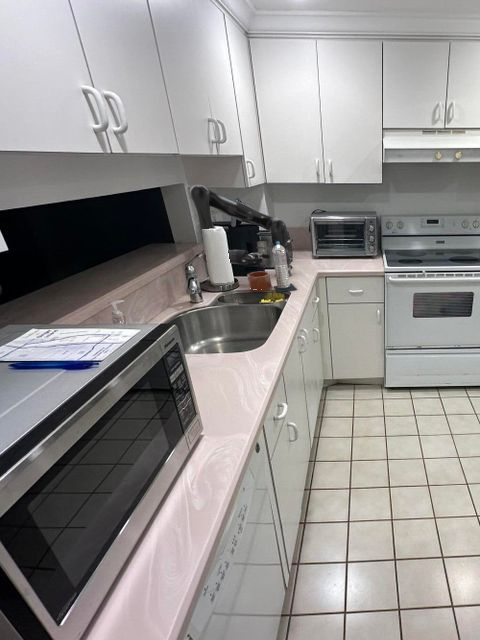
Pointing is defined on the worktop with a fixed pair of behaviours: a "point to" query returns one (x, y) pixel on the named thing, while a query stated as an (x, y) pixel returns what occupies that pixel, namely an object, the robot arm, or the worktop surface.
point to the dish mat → (285, 289)
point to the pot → (259, 281)
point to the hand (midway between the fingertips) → (266, 258)
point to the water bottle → (280, 266)
